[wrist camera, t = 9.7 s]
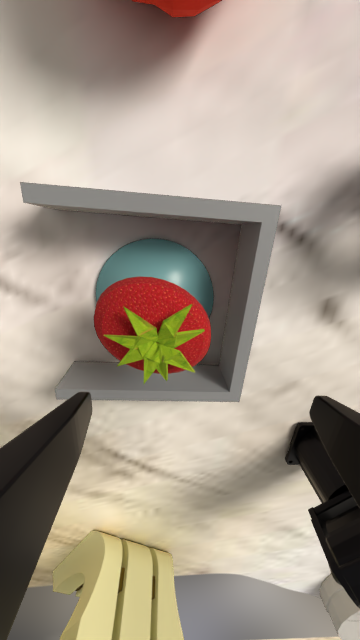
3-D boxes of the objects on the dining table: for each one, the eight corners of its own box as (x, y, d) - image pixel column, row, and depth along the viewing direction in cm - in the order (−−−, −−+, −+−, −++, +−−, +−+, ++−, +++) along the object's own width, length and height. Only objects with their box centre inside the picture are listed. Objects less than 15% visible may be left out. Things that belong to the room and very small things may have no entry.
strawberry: (128, 249, 17) (86, 267, 8) (211, 289, 19) (258, 344, 10) (103, 313, 19) (44, 390, 10) (181, 345, 21) (195, 437, 11)
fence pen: (227, 373, 22) (239, 401, 19) (75, 370, 21) (56, 399, 18) (256, 211, 17) (281, 205, 13) (54, 193, 16) (19, 181, 12)
